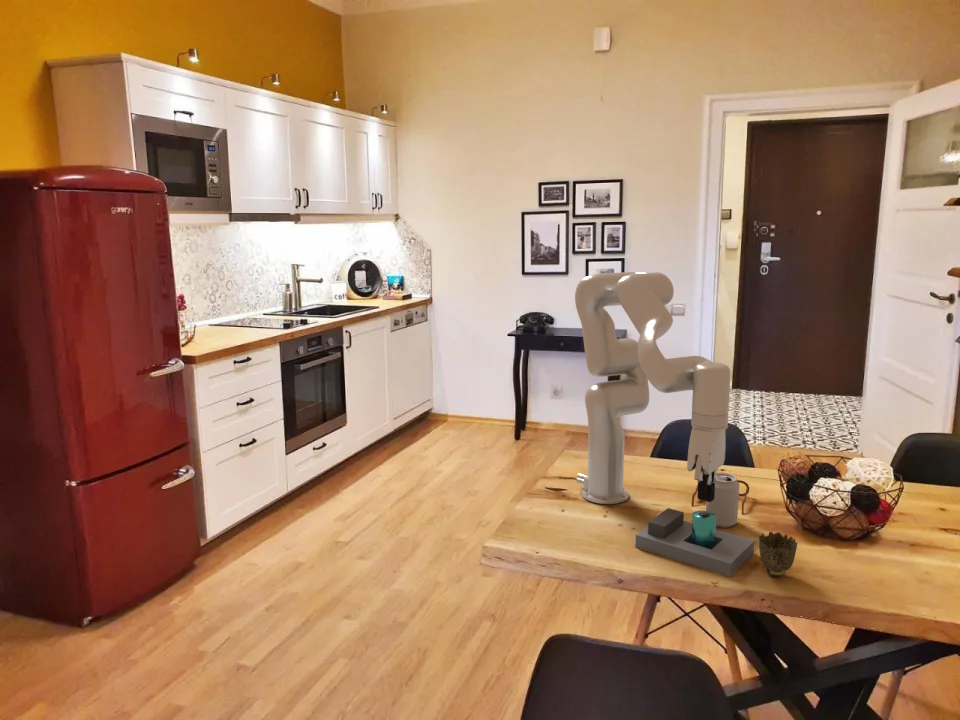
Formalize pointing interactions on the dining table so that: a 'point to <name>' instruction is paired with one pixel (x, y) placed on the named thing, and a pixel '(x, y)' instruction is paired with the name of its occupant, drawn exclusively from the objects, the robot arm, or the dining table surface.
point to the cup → (777, 553)
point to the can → (725, 500)
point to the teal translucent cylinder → (703, 529)
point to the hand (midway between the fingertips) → (705, 499)
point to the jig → (674, 542)
